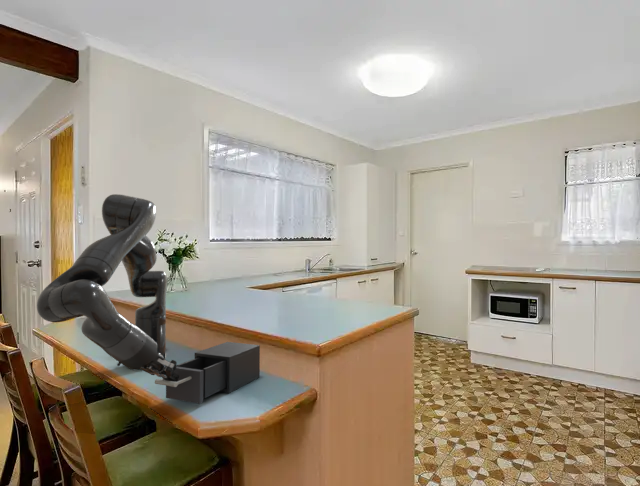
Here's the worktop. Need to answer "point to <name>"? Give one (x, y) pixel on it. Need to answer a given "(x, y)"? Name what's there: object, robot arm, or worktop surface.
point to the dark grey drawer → (197, 379)
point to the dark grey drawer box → (236, 362)
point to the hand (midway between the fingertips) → (175, 380)
